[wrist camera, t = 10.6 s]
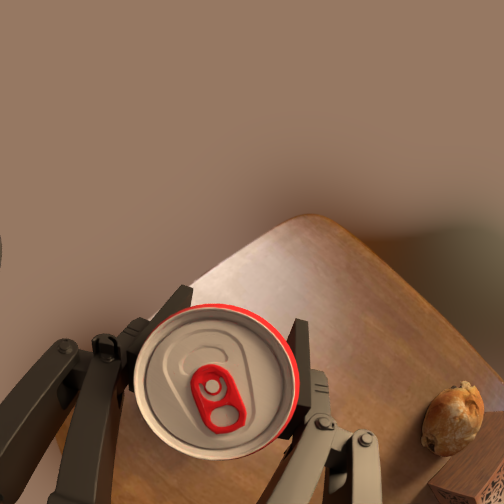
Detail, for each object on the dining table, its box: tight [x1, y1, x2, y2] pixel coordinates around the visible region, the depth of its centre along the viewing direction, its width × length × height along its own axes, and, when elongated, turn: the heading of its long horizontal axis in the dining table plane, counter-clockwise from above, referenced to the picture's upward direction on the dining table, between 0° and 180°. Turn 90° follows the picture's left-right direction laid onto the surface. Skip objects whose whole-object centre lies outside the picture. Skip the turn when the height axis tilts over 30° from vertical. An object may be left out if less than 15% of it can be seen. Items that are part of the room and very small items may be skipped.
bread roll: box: [421, 381, 484, 457], centre depth 22 cm, size 10×10×8 cm
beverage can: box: [134, 304, 300, 460], centre depth 13 cm, size 6×6×12 cm
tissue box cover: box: [428, 411, 504, 504], centre depth 13 cm, size 26×14×10 cm, turn 32°
